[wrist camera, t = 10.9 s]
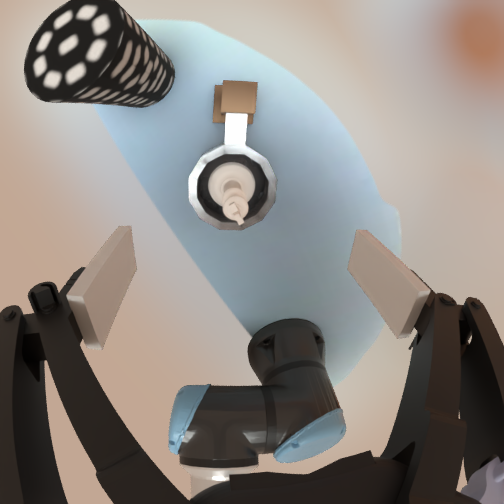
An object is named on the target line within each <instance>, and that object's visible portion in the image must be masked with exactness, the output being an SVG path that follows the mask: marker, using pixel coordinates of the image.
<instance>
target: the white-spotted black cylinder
mask: <svg viewBox="0 0 504 504" xmlns="http://www.w3.org/2000/svg"><path fill="white" fill-rule="evenodd" d="M24 75H25V81H26V84H27V87H28V88H29V90H30V92H31V93H32V94H33V95H34V96H35V97H37V98H38V99H40V100H42V101H45V102H52V103H55V102H56V103H61V102H62V103H91V104H106V105H118V106H128V107H139V108H142V107H148V106H151V105H154V104H155V103H157V102H159V101H160V100H161V99H163V98H164V97H165V96H166V95H167V94H168V92H169V91H170V89H171V87H172V85H173V82H174V78H175V70H174V66H173V64H172V62H171V60H170V59H169V58H168V57H167V55H166V54H165V53H164V52H163V51H162V50H161V49H160V48H159V46H158V45H157V44H156V43H155V42H154V41H153V40H152V39H151V38H150V36H149V35H148V34H147V33H146V32H145V31H144V30H143V29H142V28H141V27H140V26H139V25H138V24H137V22H136V21H135V20H134V19H133V18H132V17H131V16H130V15H129V14H128V13H127V12H126V11H125V10H124V9H123V8H122V7H121V6H120V5H119V4H118V3H117V2H116V1H115V0H70V1H68V2H67V3H65V4H63V5H62V6H60V7H59V8H58V9H56V10H55V11H54V12H53V13H51V14H50V16H48V18H47V19H46V20H45V21H44V22H43V23H42V24H41V26H40V27H39V28H38V30H37V31H36V33H35V35H34V37H33V38H32V40H31V42H30V45H29V48H28V50H27V53H26V58H25V64H24Z"/></svg>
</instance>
